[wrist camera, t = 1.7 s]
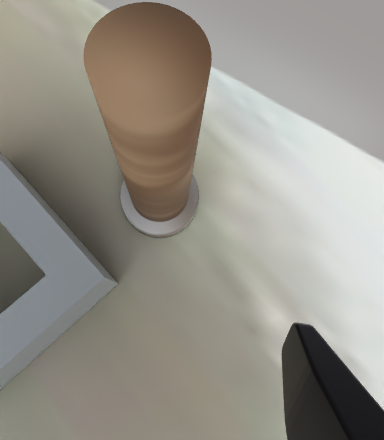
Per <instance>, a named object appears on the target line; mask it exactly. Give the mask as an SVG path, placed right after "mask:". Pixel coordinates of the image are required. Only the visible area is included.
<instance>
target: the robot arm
mask: <svg viewBox="0 0 384 440" xmlns="http://www.w3.org/2000/svg"><path fill="white" fill-rule="evenodd" d="M282 372H283V394H284V413H285V425H286V433H287V439H288V440H384V410H383V409H382V408H381V407H380V405H379V404H378V403H377V402H376V401H375V400H374V398H373V397H372V396H371V395H370V394H369V392H368V391H367V390H366V389H365V388H364V386H363V385H362V384H361V383H360V382H359V380H358V379H357V378H356V377H355V376H354V375H353V373H352V372H351V371H350V370H349V369H348V367H347V366H346V365H345V364H344V363H343V361H342V360H341V359H340V358H339V357H338V356H337V354H336V353H335V352H334V351H333V350H332V348H331V347H330V346H329V345H328V344H327V342H326V341H325V340H324V339H323V338H322V336H321V335H320V334H319V333H318V332H317V331H316V329H315V328H314V327H313V326H311V325H309V324H303V323H293V324H292V326H291V328H290V330H289V333H288V335H287V337H286V340H285V342H284V344H283V348H282Z"/></svg>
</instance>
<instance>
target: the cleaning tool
mask: <svg viewBox="0 0 384 440" xmlns="http://www.w3.org/2000/svg"><path fill="white" fill-rule="evenodd" d="M84 65H85V69H86V72H87V75H88V78H89V81H90V84H91V86H92V89H93V92H94V95H95V98H96V101H97V104H98V106H99V109H100V112H101V115H102V118H103V121H104V124H105V126H106V129H107V132H108V135H109V138H110V141H111V144H112V146H113V149H114V152H115V155H116V158H117V161H118V164H119V166H120V169H121V172H122V175H123V178H124V180H123V183H122V186H121V191H120V200H121V205H122V208H123V210H124V212H125V215H126V217H127V219H128V220H129V222H130V223H131V225H132V226H133V227H134V228H135V229H136V230H138V231H139V232H141V233H143V234H145V235H147V236H150V237H156V238H164V237H170V236H173V235H175V234H178V233H179V232H181V231H182V230H184V229H185V228H186V227H187V226H188V225H189V224H190V222H191V221H192V219H193V217H194V215H195V212H196V208H197V204H198V199H199V191H198V186H197V183H196V180H195V178H194V177H193V175H192V172H193V166H194V161H195V155H196V149H197V143H198V137H199V132H200V126H201V120H202V114H203V109H204V103H205V97H206V91H207V86H208V80H209V74H210V68H211V49H210V45H209V42H208V39H207V37H206V35H205V33H204V32H203V30H202V29H201V27H200V26H199V25H198V24H197V23H196V22H195V21H194V20H193V19H192V18H191V17H190V16H188V15H186V14H185V13H184V12H182V11H180V10H178V9H176V8H174V7H171V6H168V5H164V4H160V3H152V2H142V3H133V4H128V5H125V6H122V7H119V8H117V9H115V10H113V11H111V12H110V13H108V14H106V15H105V16H104V17H103V18H101V19H100V20H99V21H98V22H97V23H96V24H95V26H94V27H93V29H92V30H91V32H90V34H89V35H88V38H87V40H86V43H85V48H84Z"/></svg>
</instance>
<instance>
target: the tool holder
mask: <svg viewBox="0 0 384 440" xmlns="http://www.w3.org/2000/svg"><path fill="white" fill-rule="evenodd" d="M0 222H1V223H2V224H3V225H4V227H5V228H6V229H7V230H8V231H9V232H10V234H11V235H12V236H13V237H14V238H15V239H16V241H17V242H18V243H19V244H20V245H21V246H22V248H23V249H24V250H25V251H26V252H27V253H28V255H29V256H30V257H31V258H32V259H33V260H34V262H35V263H36V264H37V265H38V266H39V268H40V269H41V270H42V271H43V272H44V273H45V275H46V276H45V277H43V278H42V279H41V280H40V281H39V282H38V283H36V284H35V285H34V286H33V287H32V288H30V289H29V290H28V291H27V292H26V293H25V294H23V295H22V296H21V297H20V298H19V299H17V300H16V301H15V302H14V303H13V304H12V305H10V306H9V307H8V308H7V309H6V310H4V311H3V312H2V313H1V314H0V390H1V389H2V388H3V387H4V386H5V385H6V384H7V383H8V382H10V381H11V380H12V379H13V378H14V377H15V376H16V375H17V374H18V373H20V372H21V371H22V370H23V369H24V368H25V367H26V366H27V365H28V364H30V363H31V362H32V361H33V360H34V359H35V358H36V357H37V356H39V355H40V354H41V353H42V352H43V351H44V350H45V349H46V348H47V347H49V346H50V345H51V344H52V343H53V342H54V341H55V340H56V339H57V338H59V337H60V336H61V335H62V334H63V333H64V332H65V331H66V330H67V329H69V328H70V327H71V326H72V325H73V324H74V323H75V322H76V321H77V320H79V319H80V318H81V317H82V316H83V315H84V314H85V313H86V312H87V311H89V310H90V309H91V308H92V307H93V306H94V305H95V304H96V303H98V302H99V301H100V300H101V299H102V298H103V297H104V296H105V295H106V294H108V293H109V292H110V291H111V290H112V289H113V288H114V287H115V286H116V285H118V283H117V282H116V281H115V280H114V278H113V277H112V276H111V275H110V274H109V273H108V272H107V271H106V269H105V268H104V267H103V266H102V265H101V264H100V263H99V262H98V260H97V259H96V258H95V257H94V256H93V255H92V254H91V253H90V251H89V250H88V249H87V248H86V247H85V246H84V245H83V244H82V242H81V241H80V240H79V239H78V238H77V237H76V236H75V234H74V233H73V232H72V231H71V230H70V229H69V228H68V227H67V225H66V224H65V223H64V222H63V221H62V220H61V219H60V218H59V216H58V215H57V214H56V213H55V212H54V211H53V210H52V209H51V207H50V206H49V205H48V204H47V203H46V202H45V201H44V199H43V198H42V197H41V196H40V195H39V194H38V193H37V192H36V190H35V189H34V188H33V187H32V186H31V185H30V184H29V183H28V181H27V180H26V179H25V178H24V177H23V176H22V175H21V174H20V172H19V171H18V170H17V169H16V168H15V167H14V166H13V164H12V163H11V162H10V161H9V160H8V159H7V158H6V157H5V156H3V155H2V154H1V153H0Z"/></svg>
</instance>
